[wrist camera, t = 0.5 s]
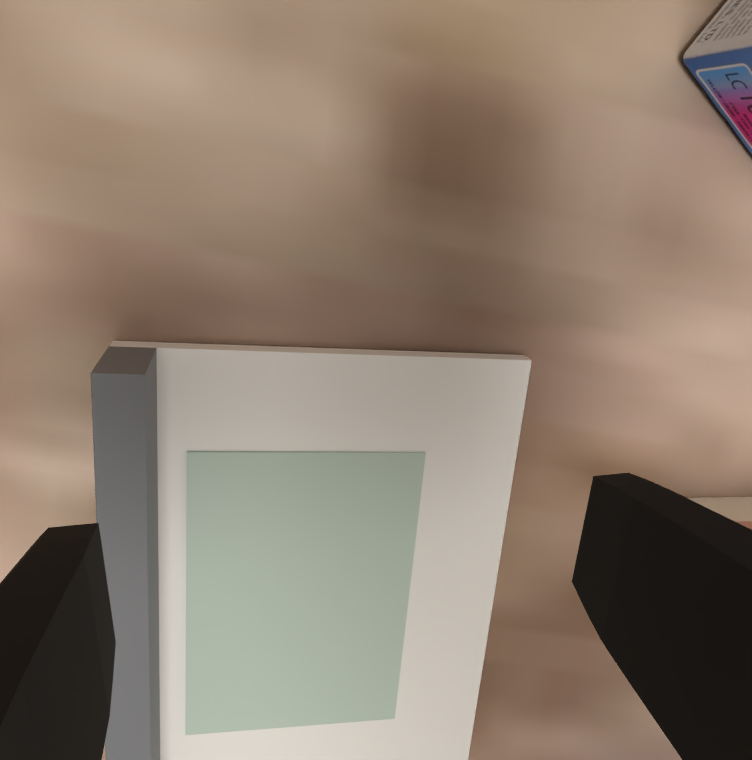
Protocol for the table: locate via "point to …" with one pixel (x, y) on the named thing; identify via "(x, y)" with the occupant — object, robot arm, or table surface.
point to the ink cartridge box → (727, 65)
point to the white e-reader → (300, 546)
